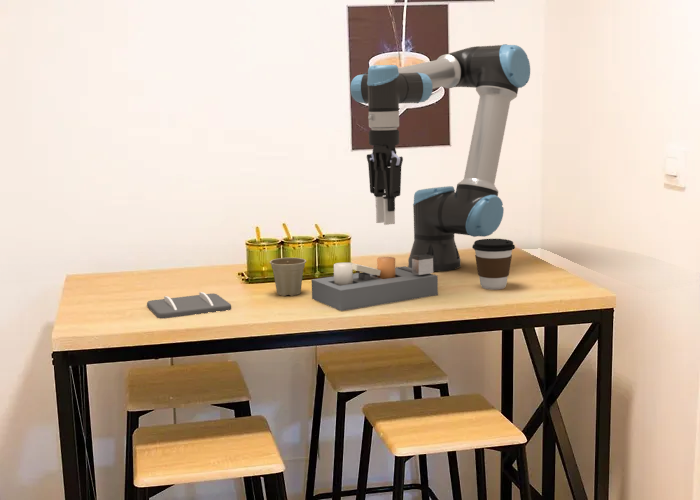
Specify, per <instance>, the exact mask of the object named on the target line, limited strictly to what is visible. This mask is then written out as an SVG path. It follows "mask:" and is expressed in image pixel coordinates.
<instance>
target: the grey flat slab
mask: <svg viewBox="0 0 700 500" xmlns="http://www.w3.org/2000/svg"><path fill="white" fill-rule="evenodd" d="M146 307H147V308H148V309H149V310H150V311H151V312H152V313H153V315H155V317H157V318H158V319H170V318H178V317H179V318H180V317H187V316H194V315H195V314H196V315H202V314H201V313H204V314H209V313H208V312H212V313H217V312H216V311H220V312H227V311H226V310H228V311H232V304H231V303H230V302H228V301H227V300H225V299H224V298H223V297H222V296H220V295H219V294H218V293H205V292H204V291H199V293H198V294H196V295H187V296H178V297H170V296H166V295H165V296H164V297H163V298H161V299H153V300H152V299H151V300H148V301H147V302H146Z"/></svg>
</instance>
